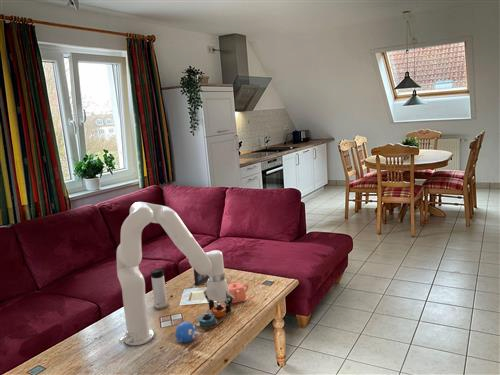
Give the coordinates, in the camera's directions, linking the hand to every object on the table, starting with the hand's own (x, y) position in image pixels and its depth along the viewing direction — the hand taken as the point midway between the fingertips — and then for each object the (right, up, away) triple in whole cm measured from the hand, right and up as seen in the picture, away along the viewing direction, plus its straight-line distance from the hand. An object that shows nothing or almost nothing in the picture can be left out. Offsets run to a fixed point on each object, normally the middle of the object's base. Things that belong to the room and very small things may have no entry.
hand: (220, 310), depth 202 cm
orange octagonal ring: (0, -1, 0) cm, 1 cm away
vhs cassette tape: (-11, +5, +45) cm, 47 cm away
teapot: (+7, +1, +14) cm, 16 cm away
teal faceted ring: (-5, -3, -8) cm, 10 cm away
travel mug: (-31, -2, +13) cm, 34 cm away
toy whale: (-11, -7, -22) cm, 25 cm away
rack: (-3, -3, -4) cm, 6 cm away
